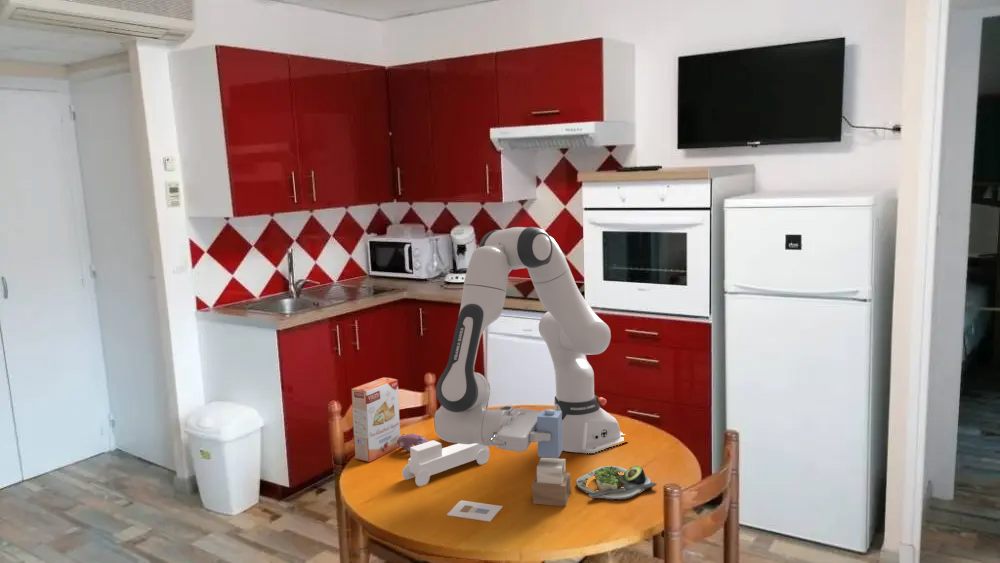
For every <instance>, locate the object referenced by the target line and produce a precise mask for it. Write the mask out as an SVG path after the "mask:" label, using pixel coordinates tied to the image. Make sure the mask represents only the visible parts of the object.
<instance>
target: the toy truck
mask: <svg viewBox="0 0 1000 563" xmlns="http://www.w3.org/2000/svg"><path fill="white" fill-rule="evenodd" d="M428 441H429V442H426V443H423V444H420V445H416V446H415V445H412V446H413V447H410V452H409V453H410V454H409V455H410V457H409V458H408V460H407V462H408V463H407V464H406V465H405V466H404V467H403V469H402V472H401V476H402V478H403V479H404V480H410V479H412V478H414V477H415V478H414V481H415V484H416V486H418V487H423V486H425V485H427V484H428V483H429V481H430V478H431V476H433V475H436V474H439V473H442V472H445V471H447V470H449V469H453V468H456V467H459V466H461V465H464V464H467V463H470V462H473V461H475V460H476V462H477V464H478V465H480V466H482V465H484V464H487V463H488V461H489V459H490V455H491V453H490V448H489V447H490V446H484V445H481V444H478V443H474V444H459V443H454V444H451V445H449V446H446V447H443V446H442V442H439V441H436V440H434V439H433V440H428Z"/></svg>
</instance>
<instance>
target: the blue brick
mask: <svg viewBox="0 0 1000 563" xmlns="http://www.w3.org/2000/svg"><path fill="white" fill-rule="evenodd" d="M537 429H538V432H537V433H542V432H544V431H545V432H551V439H550V441H539V442H537V457H539V458H542V457H543V458H559V457H560V456H561V454H562V452H563V450H562V411H555V409H553V408H552V409H551V408H546V409H541V411H540V413H539V415H538V416H537ZM559 459H560V458H559Z"/></svg>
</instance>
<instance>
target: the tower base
mask: <svg viewBox="0 0 1000 563" xmlns="http://www.w3.org/2000/svg"><path fill="white" fill-rule="evenodd" d="M566 460H567V459H566V458H551V457H540V459H539V462H538V464H537V465H536V476H535V477H534V479H533V482H532V483H531V484H532V485H531V486H532V487H531V488H532V504H533V505H545V506H546V505H547V506H559V507H566V506H567V503H568V501H569V499H568V498H570V496H569V495H571V494H572V482H571V472H567V470H566V467H567V466H566Z"/></svg>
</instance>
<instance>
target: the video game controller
mask: <svg viewBox="0 0 1000 563" xmlns="http://www.w3.org/2000/svg"><path fill="white" fill-rule="evenodd" d="M429 441H430V440H428V439H427V438H426V437H425V436H424V435H418V434H416V433H408V434H404V433H402V435H400V437H399V438H398V440H397V444H398V445H399V446H400V447H399V448H402V449H404V450H405V451H406V452H408V453H410V447H413V446H416V445H420V444H423V443H426V442H429Z"/></svg>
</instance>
